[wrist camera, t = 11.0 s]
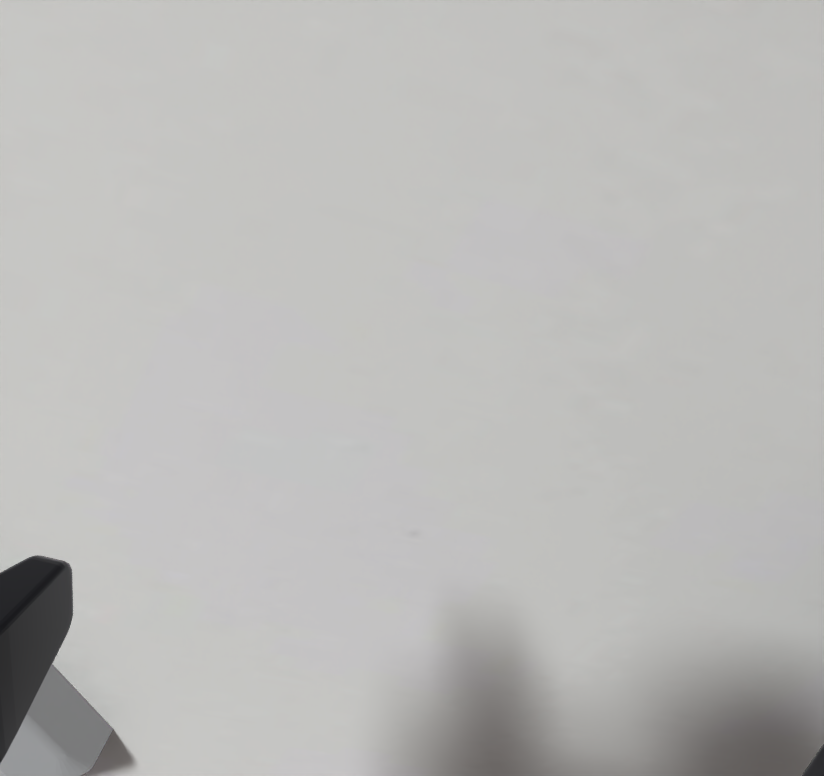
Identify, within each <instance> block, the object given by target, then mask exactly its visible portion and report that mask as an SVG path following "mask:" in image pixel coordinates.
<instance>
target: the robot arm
mask: <svg viewBox="0 0 824 776" xmlns="http://www.w3.org/2000/svg"><path fill="white" fill-rule="evenodd" d="M72 616H73V590H72V569H71V567H70V565H69V564H68V563H67V562H65V561H62V560H57V559H53V558H49V557H44V556H32V557H29V558H27V559H25V560H23V561H21V562H20V563H18V564H16V565H14V566H12V567H10V568H8V569H6V570H4V571H3V572H1V573H0V763H1V762H2V760H3V758H4V757H5V755H6V753H7V752H8V750H9V748H10V746H11V744H12V742H13V740H14V738H15V736H16V735H17V733H18V731H19V729H20V727H21V725H22V723H23V721H24V719H25V717H26V715H27V713H28V711H29V709H30V707H31V705H32V703H33V701H34V699H35V697H36V695H37V693H38V691H39V689H40V687H41V685H42V683H43V681H44V679H45V677H46V675H47V673H48V671H49V669H50V667H51V665H52V663H53V661H54V659H55V657H56V655H57V653H58V651H59V649H60V647H61V645H62V643H63V641H64V639H65V637H66V635H67V633H68V630H69V628H70V625H71V621H72ZM802 776H824V745H823V746H822V747H821V749H820V750H819V752H818V753H817V754H816V756H815V757H814V759H813V760H812V762H811V763H810V765H809V766H808V767H807V769H806V770H805V772H804V773H803V775H802Z"/></svg>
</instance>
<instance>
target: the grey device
mask: <svg viewBox="0 0 824 776" xmlns="http://www.w3.org/2000/svg"><path fill="white" fill-rule="evenodd" d="M112 730H113V728H112V727H111V726H110V725H109V724H108V723H107V722H106V721H105V720H104V719H103V717H102V716H101V715H100V714H99V713H98V712H97V711H96V710H95V709H94V708H93V707H92V706H91V705H90V704H89V703H88V702H87V700H86V699H85V698H84V697H83V696H82V695H81V694H80V693H79V692H78V691H77V690H76V689H75V688H74V687H73V686H72V685H71V683H70V682H69V681H68V680H67V679H66V678H65V677H64V676H63V675H62V674H61V673H60V672H59V671H58V670H57V669H56V668H55V666H54V665H53V664H52V665H51V667H50V669H49V671H48V673H47V675H46V677H45V679H44V681H43V683H42V685H41V687H40V689H39V691H38V693H37V695H36V697H35V699H34V701H33V703H32V705H31V707H30V709H29V711H28V713H27V715H26V717H25V719H24V721H23V723H22V725H21V727H20V729H19V731H18V733H17V735H16V736H15V738H14V740H13V742H12V744H11V746H10V748H9V750H8V752H7V753H6V755H5V757H4V758H3V760H2V762H1V763H0V776H81V775H83V774H85V773H87V772H88V771H89V770H91V768H92V767H93V766H94V764H95V762H96V760H97V758H98V757H99V755H100V753H101V751H102V749H103V747H104V745H105V744H106V742H107V740H108V738H109V736H110V734H111V732H112Z"/></svg>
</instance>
